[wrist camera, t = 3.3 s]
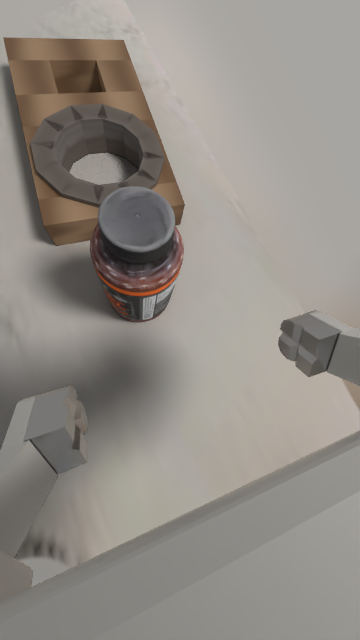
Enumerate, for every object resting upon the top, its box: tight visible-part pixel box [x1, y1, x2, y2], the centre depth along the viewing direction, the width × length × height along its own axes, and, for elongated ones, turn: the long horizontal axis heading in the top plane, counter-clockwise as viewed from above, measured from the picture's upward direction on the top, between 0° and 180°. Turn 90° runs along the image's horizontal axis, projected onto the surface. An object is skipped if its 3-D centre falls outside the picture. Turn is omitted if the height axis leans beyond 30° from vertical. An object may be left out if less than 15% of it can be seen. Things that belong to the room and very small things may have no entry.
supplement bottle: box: [90, 186, 184, 322], centre depth 17 cm, size 6×6×11 cm
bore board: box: [4, 38, 185, 246], centre depth 24 cm, size 13×24×4 cm, turn 18°
